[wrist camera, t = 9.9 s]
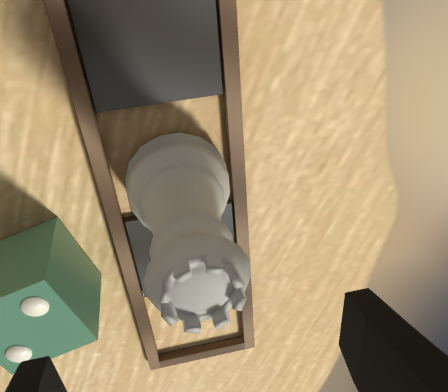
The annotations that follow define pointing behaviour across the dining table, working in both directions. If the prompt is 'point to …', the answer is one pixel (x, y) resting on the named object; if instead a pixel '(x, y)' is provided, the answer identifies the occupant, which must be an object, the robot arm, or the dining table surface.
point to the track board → (153, 94)
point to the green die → (46, 295)
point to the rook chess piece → (187, 230)
